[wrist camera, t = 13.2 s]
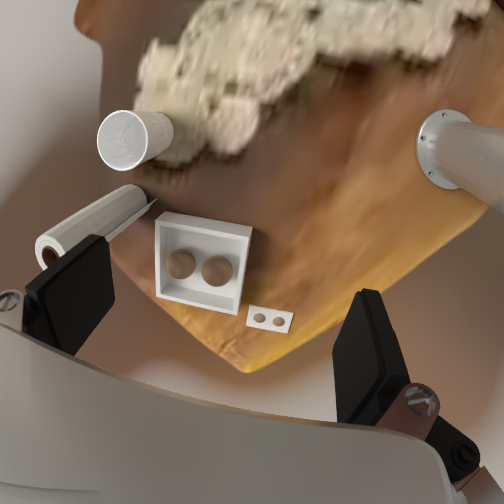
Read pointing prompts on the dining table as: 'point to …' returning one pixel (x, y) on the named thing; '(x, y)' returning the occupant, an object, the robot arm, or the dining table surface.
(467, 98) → the dining table surface
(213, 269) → the ball
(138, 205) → the paper towel roll
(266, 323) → the card
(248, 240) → the bin
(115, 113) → the white cup
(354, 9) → the dining table surface
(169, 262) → the walnut ball
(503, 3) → the bucket
